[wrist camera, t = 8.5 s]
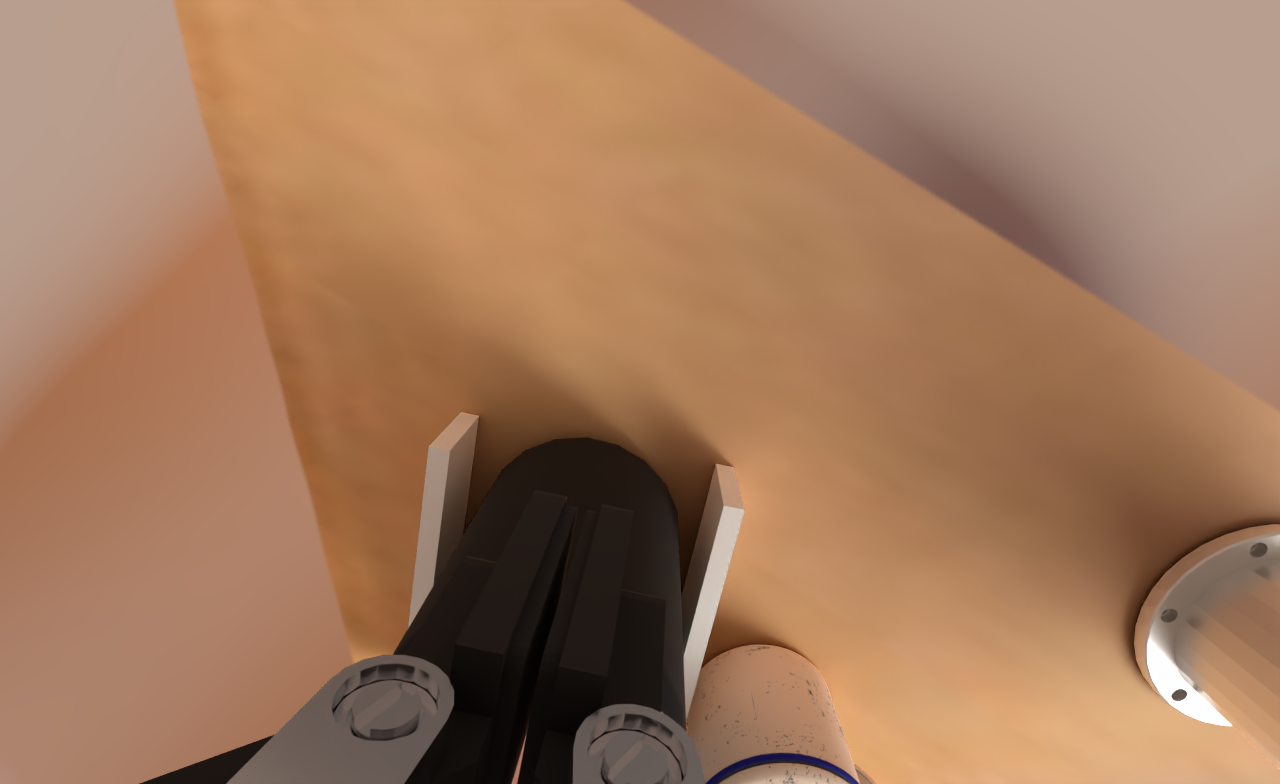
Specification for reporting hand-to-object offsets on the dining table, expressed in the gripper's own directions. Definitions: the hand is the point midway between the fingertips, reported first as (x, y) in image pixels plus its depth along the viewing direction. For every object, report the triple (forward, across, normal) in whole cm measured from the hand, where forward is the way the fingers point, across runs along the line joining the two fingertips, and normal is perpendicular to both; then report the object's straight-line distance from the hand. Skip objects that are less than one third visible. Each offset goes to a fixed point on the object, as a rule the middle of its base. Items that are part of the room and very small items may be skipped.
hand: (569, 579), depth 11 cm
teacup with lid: (+24, -13, +22) cm, 35 cm away
